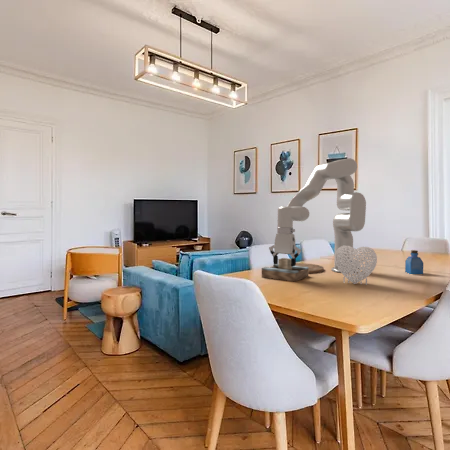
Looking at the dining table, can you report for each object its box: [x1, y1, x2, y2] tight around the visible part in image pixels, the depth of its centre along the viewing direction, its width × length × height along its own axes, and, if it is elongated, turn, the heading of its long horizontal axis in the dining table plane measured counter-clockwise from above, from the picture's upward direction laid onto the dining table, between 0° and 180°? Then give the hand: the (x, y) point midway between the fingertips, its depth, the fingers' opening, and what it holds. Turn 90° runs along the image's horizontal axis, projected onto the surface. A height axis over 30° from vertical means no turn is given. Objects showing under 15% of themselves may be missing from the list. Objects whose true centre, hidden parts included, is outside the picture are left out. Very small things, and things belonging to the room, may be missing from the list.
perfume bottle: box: [404, 249, 424, 275], centre depth 173 cm, size 6×6×12 cm
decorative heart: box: [334, 246, 378, 286], centre depth 151 cm, size 18×11×17 cm, turn 57°
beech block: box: [278, 257, 292, 270], centre depth 168 cm, size 5×5×9 cm
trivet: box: [295, 262, 325, 275], centre depth 187 cm, size 25×25×2 cm
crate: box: [261, 263, 309, 282], centre depth 168 cm, size 18×16×5 cm
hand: (284, 265), depth 167 cm, fingers open, 9 cm apart
